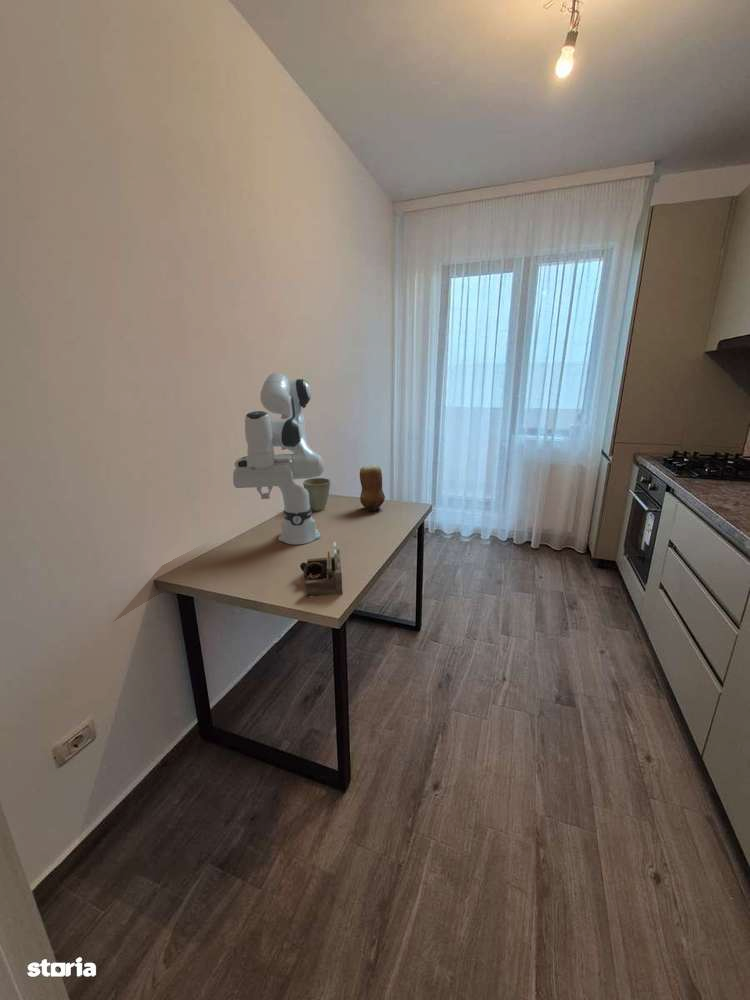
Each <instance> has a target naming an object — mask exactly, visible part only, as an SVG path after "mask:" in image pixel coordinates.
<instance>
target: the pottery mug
mask: <svg viewBox="0 0 750 1000" xmlns="http://www.w3.org/2000/svg"><path fill="white" fill-rule="evenodd" d="M310 566H312V567H310ZM299 567H300V570H301V571H302V572H303V579H304V582H305V581H309V580H322V579H328V574H327V569H326V568H325V567H324V566H323V565H322V564H320V563H318V562H312V563H310V564H307V562H301V564H300V566H299ZM310 572H311V573H310ZM310 575H311V576H312V577H310ZM313 575H314V576H315V577H314V576H313Z"/></svg>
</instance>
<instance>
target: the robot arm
mask: <svg viewBox="0 0 750 1000" xmlns="http://www.w3.org/2000/svg"><path fill="white" fill-rule="evenodd" d="M311 390H312V389H311V387H310V385H309V382H308V381H307V380H306V379H302V378H298V379H291V380H289V379H288V377H287V376H285V374H283V373H280V372H273V373H271V374H269V375H268V376H267V377H266V379H265V381H264V382H263V385H262V387H261V390H260V397H259V398H260V403H261V405H262V406H263V408H264V409H266V410H267V411H268V412H270V413H272V414H278V415H281V416H280V419H279V418H277V419H275V418H274V419H270V416H269V413H268V412H266V411H263V410H262V411H261V410H257V411H251V412H248V413H246V415H245V417H244V418H245V419H244V434H245V442H246V444H247V449H246V451H247V455H245V456H243V457H240V458H238V459H236V460H235V461H234V467H235V468H234V470H233V473H232V481H233V483H232V484H233V486H234V487H235V488H236V489H250V488H256V491H257V492H258V493H259V495H260V499H261V500H266V499H267V500H270V499H271V492H272V490H273V487H278V488H279V490H280V492H281V494H282V499H283V500H282V501H283V507H284V510H283V517H284V520H283V521H282V522H281V534H280V536H279V537H278V541H280V542H284V543H286V544H288V545H303V544H308V543H311V542H313V541H315V540H318V539H320V538H321V534H320V532H319V530H318V529H317V526H316V521H315V519H314V518H313V517H312V509H311V507H310V504H309V493H308V491H307V490H306V489H305V488H304V486H301V485H299V484H297V483H295V481H294V480H303V479H305V480H307V479H312V478H318V477H320V476H321V475H322V474H323V472H324V469H325V462H324V460H323V458H322V456H321V455H319V454H318V453H317V452H315V451H314V450H313V449H312V448H311V447H310V446H309V444H308V441H307V440H308V439H307V433H306V431H307V430H306V421H305V416H304V415H305V414H304V411H303V409H305V408H306V407H307V405H308V403H310V400H311V397H312V396H311V395H312V391H311ZM302 408H303V409H302ZM274 447H283V448H285V450H288V451H290V452H293V453H281V454H280V453H278V454H275V448H274ZM265 487H267V490H268V492H264V491H262V488H265Z"/></svg>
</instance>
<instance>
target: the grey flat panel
mask: <svg viewBox="0 0 750 1000" xmlns="http://www.w3.org/2000/svg"><path fill="white" fill-rule="evenodd" d="M330 554H331V552H330V551H327V556H326V558H327V572H326V573H327V579H333V572H332V563H331V557H332V555H330Z"/></svg>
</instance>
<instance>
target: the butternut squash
mask: <svg viewBox="0 0 750 1000" xmlns="http://www.w3.org/2000/svg"><path fill="white" fill-rule="evenodd" d="M359 481H360V485H361V492H360V497H359V500H360V503H361V505H362V506H363V508H364V509H366V510H369V511H377V510H379V508H380V507H381V506H382V505H383V504H384V502H385V499H386V496H385V494H384V491H383V473H382V469H381V467H380V466H379V465H377V464H370V465H364V466H362V467H361V468H360V469H359Z"/></svg>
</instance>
